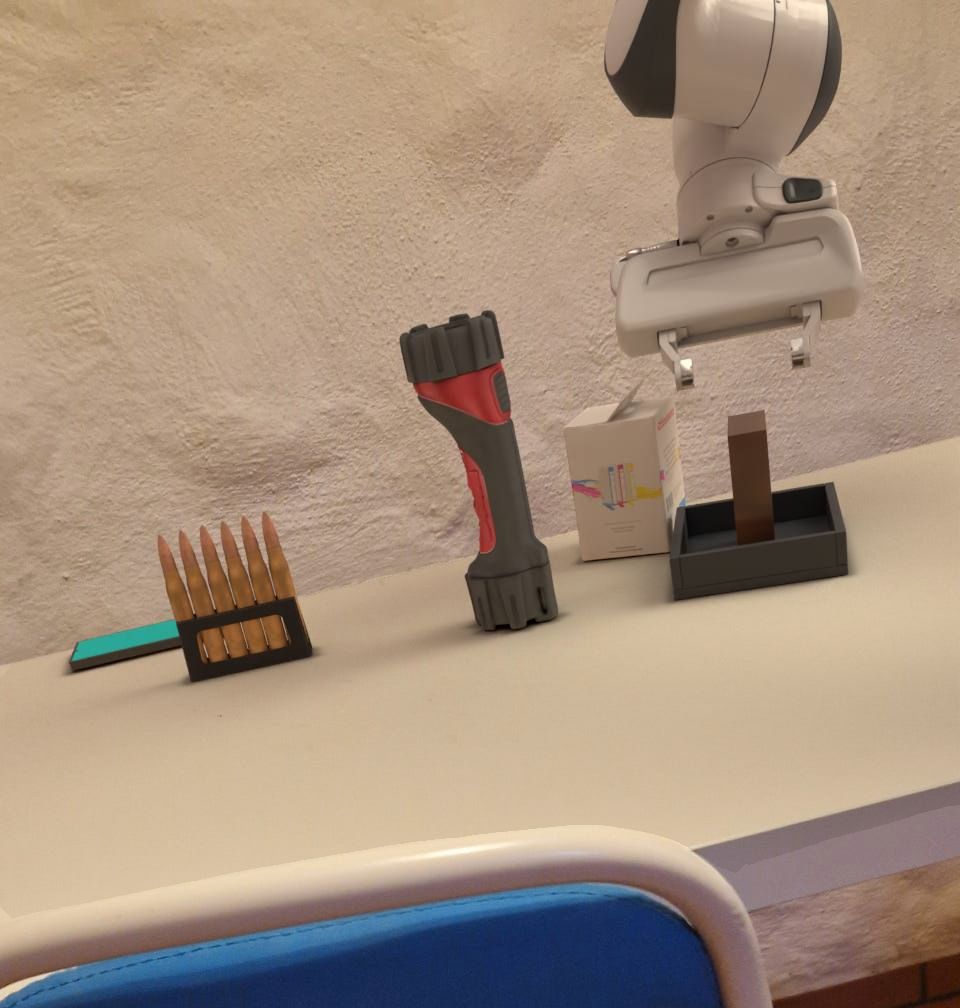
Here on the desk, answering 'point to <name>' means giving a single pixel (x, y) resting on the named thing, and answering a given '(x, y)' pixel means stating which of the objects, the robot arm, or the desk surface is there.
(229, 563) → the ammunition clip
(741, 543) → the walnut block
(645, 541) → the ink box
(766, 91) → the robot arm
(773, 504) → the dark gray tray
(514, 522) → the flashlight
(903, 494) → the desk surface
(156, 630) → the smartphone
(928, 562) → the desk surface
